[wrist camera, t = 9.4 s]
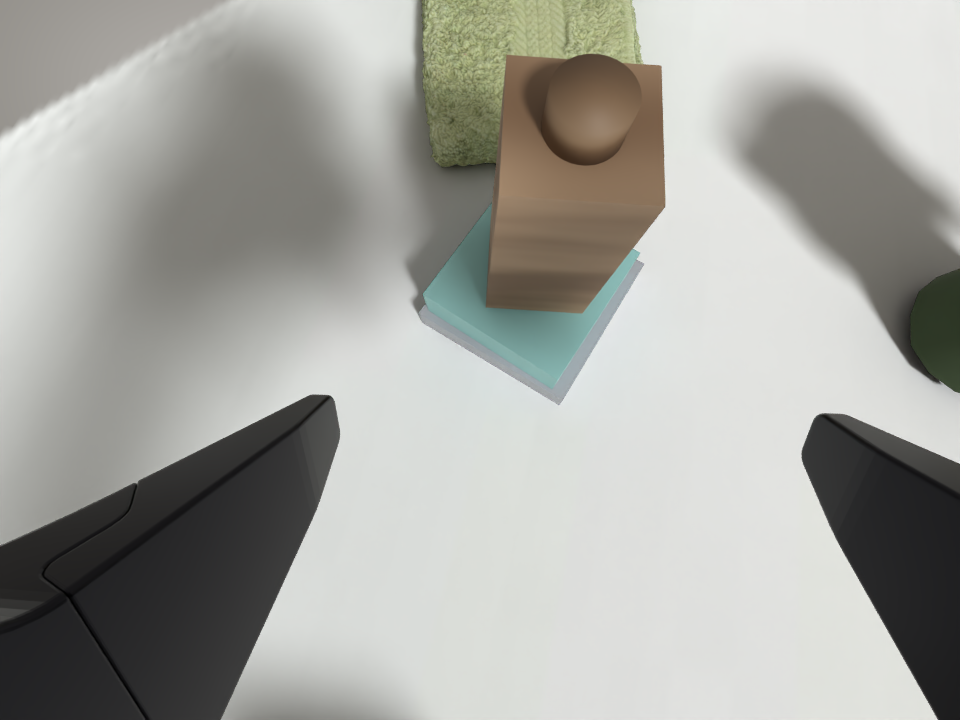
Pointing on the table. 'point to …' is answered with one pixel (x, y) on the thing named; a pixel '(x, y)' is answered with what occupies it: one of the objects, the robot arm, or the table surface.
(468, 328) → the teal slab
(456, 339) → the slate slab
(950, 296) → the character mug
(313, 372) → the table surface
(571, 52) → the washcloth
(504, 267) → the walnut pillar
